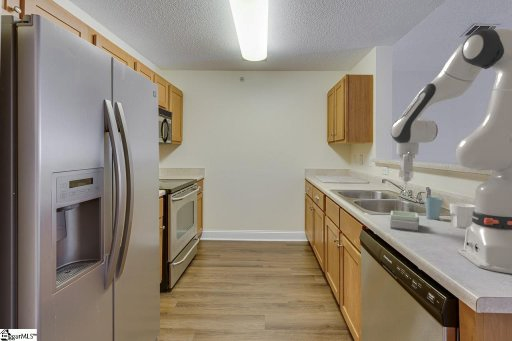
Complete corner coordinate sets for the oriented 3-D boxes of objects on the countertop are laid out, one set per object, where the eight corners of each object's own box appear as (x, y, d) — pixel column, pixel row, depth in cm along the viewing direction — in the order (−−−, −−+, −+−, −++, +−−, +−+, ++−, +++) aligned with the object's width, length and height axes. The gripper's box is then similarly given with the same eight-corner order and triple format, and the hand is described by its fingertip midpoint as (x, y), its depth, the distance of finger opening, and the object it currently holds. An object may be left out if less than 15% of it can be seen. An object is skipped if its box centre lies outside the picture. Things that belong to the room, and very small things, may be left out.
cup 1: (423, 218, 154) (425, 198, 153) (424, 216, 160) (425, 196, 160) (441, 220, 150) (442, 199, 149) (440, 218, 157) (442, 198, 156)
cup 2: (474, 230, 132) (475, 207, 132) (447, 226, 138) (448, 205, 138) (475, 225, 140) (476, 204, 140) (449, 222, 146) (450, 202, 146)
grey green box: (418, 228, 131) (419, 217, 130) (390, 225, 135) (391, 215, 135) (416, 222, 142) (416, 212, 141) (390, 220, 146) (390, 210, 146)
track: (418, 231, 129) (419, 223, 128) (390, 228, 133) (391, 220, 133) (414, 220, 150) (414, 213, 149) (390, 218, 154) (390, 211, 154)
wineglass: (413, 195, 134) (415, 168, 133) (399, 194, 135) (401, 167, 135) (409, 193, 140) (411, 167, 139) (396, 192, 141) (397, 167, 140)
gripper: (417, 150, 126) (415, 183, 126) (413, 150, 144) (412, 179, 145) (400, 150, 128) (399, 182, 129) (398, 150, 147) (397, 179, 148)
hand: (405, 181), depth 137 cm, fingers closed on wineglass, 5 cm apart
